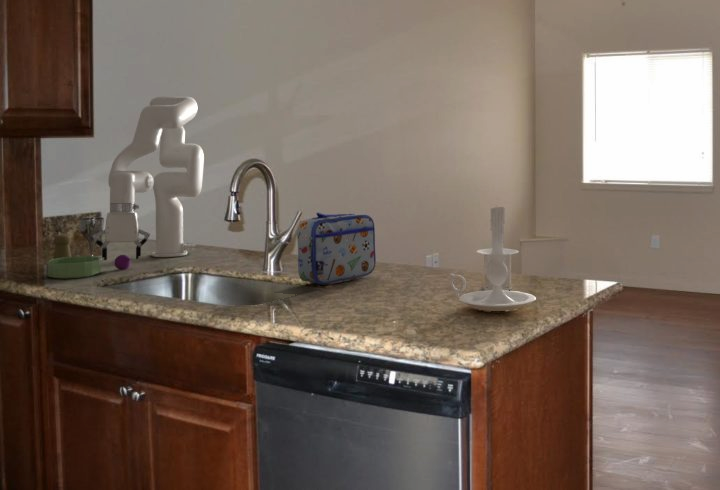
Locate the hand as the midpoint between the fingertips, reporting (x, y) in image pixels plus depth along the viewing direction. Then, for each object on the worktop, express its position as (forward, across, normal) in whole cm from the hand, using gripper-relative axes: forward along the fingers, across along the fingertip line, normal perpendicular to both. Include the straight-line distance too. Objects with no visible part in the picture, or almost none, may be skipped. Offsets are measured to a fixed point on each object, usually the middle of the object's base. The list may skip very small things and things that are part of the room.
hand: (121, 259), depth 267 cm
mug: (+4, -103, +79) cm, 130 cm away
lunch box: (+4, -63, +47) cm, 79 cm away
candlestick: (+5, -92, +102) cm, 138 cm away
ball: (+1, 0, -1) cm, 1 cm away
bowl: (+4, +14, +5) cm, 15 cm away
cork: (+4, +19, -14) cm, 23 cm away
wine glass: (+3, +11, -28) cm, 30 cm away
